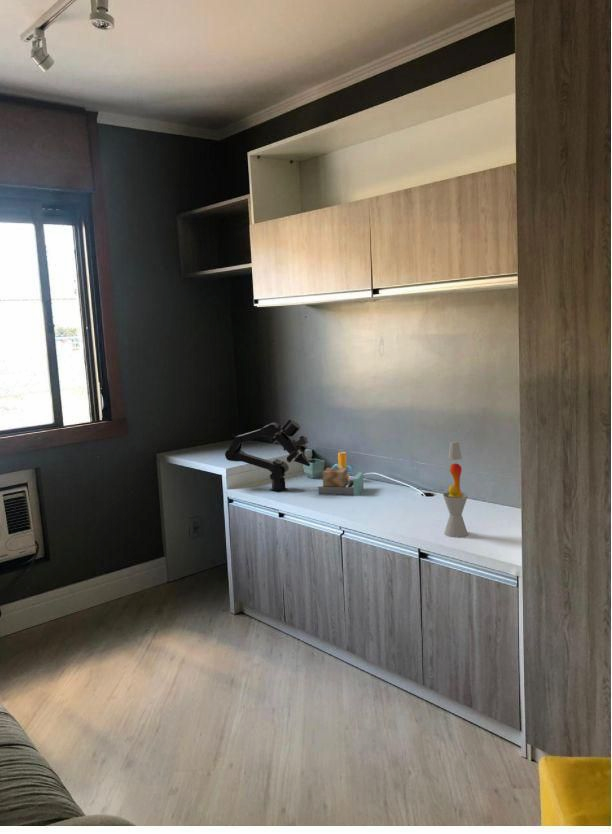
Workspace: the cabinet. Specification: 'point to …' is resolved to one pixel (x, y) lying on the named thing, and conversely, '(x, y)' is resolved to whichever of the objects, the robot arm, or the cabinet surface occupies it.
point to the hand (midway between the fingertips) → (309, 465)
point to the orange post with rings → (343, 463)
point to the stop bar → (358, 483)
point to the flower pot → (314, 468)
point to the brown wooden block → (335, 477)
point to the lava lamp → (455, 497)
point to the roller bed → (338, 489)
